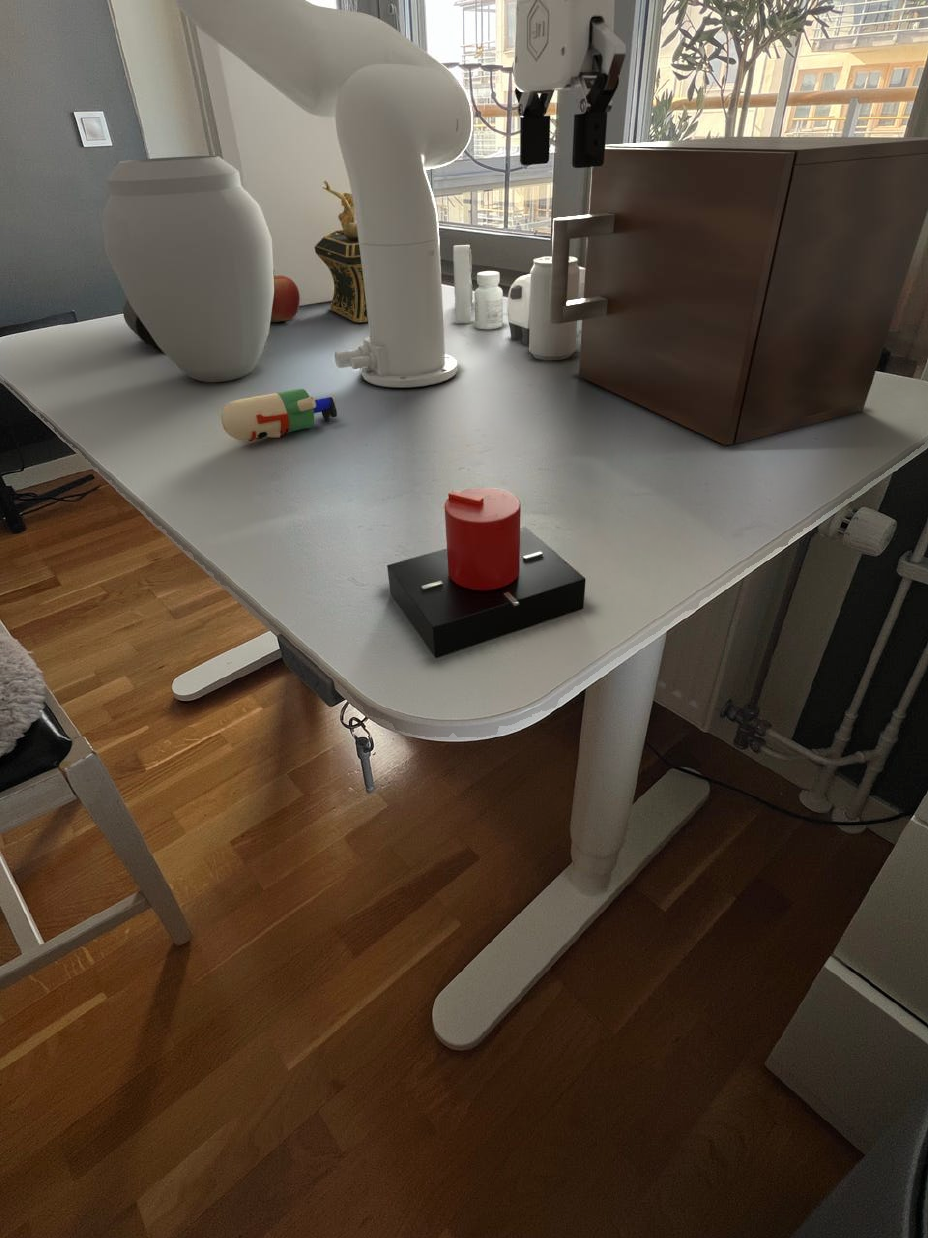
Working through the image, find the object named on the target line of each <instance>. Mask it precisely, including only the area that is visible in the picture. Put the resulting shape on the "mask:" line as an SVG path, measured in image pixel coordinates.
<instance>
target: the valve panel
mask: <svg viewBox="0 0 928 1238" xmlns="http://www.w3.org/2000/svg"><path fill="white" fill-rule="evenodd" d="M386 568H387V576H388V585H389V593H390V596H391V597H392V598H393V600H394V602H395V603H396V604H397V606H398V608H400V610H401V611H402V612H403V614H404V616H405V617H406V618H407V620H408V621H409V623H410V624H411V626H412V627H413V628H414V630H415V631H416V633H417V634H418V636H419V637H420V639H421V640H422V641H423V643H424V645H425V646H426V647H427V648H428V650H429V651H430V652H431V654H432V655H433V657H434V658H435V659H438V658H441V657H443V656H447V655H450V654H453V653H455V652H458V651H462V650H465V649H467V648H471V647H473V646H476V645H479V644H482V643H485V642H488V641H491V640H495V639H497V638H500V637H503V636H507V635H510V634H512V633H515V632H516V633H517V632H519V631H521V630H524V629H527V628H531V627H533V626H536V625H537V626H538V625H539V624H542V623H546V622H549V621H551V620H554V619H558V618H560V617H563V616H566V615H569V614H572V613H575V612H579V611H581V610H583V609H584V607H585V606H584V604H585V594H586V582H587V578H586V577H585V576H583V575H582V574H581V573H580V572H579V571H578V570H577V569H575V568H574V567H573V566H572V565H571V564H569V563H568V562H567V561H566V560H565V559H564V558H563V557H561V556H560V555H559V554H558V553H557V552H555V550H554V549H552V548H551V547H550V546H548V545H547V543H545V542H544V541H543V540H542V539H541V538H539V537H538V536H537V535H535V534H534V533H533V532H532V531H531V530H530V529H529V528H527V527H526V526H523V527H520V572H519V575H518V577H517V578H516V579H515V580H514V581H513V582H512V583H511V584H509V585H507V586H505V587H502V588H499V589H494V590H485V591H480V590H471V589H467V588H464V587H461V586H459V585H458V584H456V583H455V582H453V581H452V579H451V578H450V576H449V573H448V558H447V548H443V549H440V550H436V551H433V552H429V553H426V554H422V555H418V556H415V557H411V558H408V559H403V560H399V561H396V562H393V563H390V564H387V565H386Z"/></svg>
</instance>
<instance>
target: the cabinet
mask: <svg viewBox="0 0 928 1238" xmlns="http://www.w3.org/2000/svg"><path fill="white" fill-rule="evenodd" d="M605 148H644V149H684V150H724V151H764V152H795V155H794V160H793V164H792V169H791V174H790V178H789V183H788V188H787V192H786V197H785V202H784V206H783V211H782V216H781V221H780V225H779V230H778V235H777V239H776V244H775V249H774V253H773V258H772V263H771V268H770V272H769V277H768V282H767V286H766V291H765V296H764V300H763V305H762V310H761V314H760V319H759V324H758V329H757V333H756V338H755V343H754V347H753V352H752V357H751V361H750V366H749V371H748V376H747V380H746V385H745V390H744V394H743V399H742V404H741V408H740V413H739V418H738V422H737V427H736V432H735V437H734V441H733V445H737V444H742V443H745V442H749V441H753V440H757V439H760V438H763V437H768V436H771V435H775V434H780V433H784V432H788V431H791V430H795V429H799V428H802V427H806V426H810V425H814V424H817V423H822V422H825V421H829V420H833V419H836V418H840V417H844V416H848V415H852V414H855V413H859V412H862V411H864V408H865V406H866V402H867V401H868V396H869V394H870V390H871V387H872V384H873V381H874V378H875V374H876V371H877V369H878V366H879V363H880V359H881V357H882V353H883V350H884V347H885V345H886V341H887V338H888V334H889V332H890V329H891V327H892V326H891V325H892V323H893V320H894V316H895V313H896V310H897V308H898V307H897V306H898V304H899V301H900V298H901V295H902V292H903V289H904V286H905V282H906V279H907V276H908V274H909V270H910V267H911V265H912V260H913V257H914V255H915V252H916V248H917V246H918V242H919V239H920V236H921V234H922V230H923V227H924V224H925V221H926V218H927V215H928V136H926V137H922V136H920V137H919V136H918V137H917V136H914V137H912V136H910V137H908V136H875V137H874V136H721V137H708V138H693V139H692V138H691V139H679V140H678V139H677V140H664V141H649V142H636V143H619V144H605Z"/></svg>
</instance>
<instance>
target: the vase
mask: <svg viewBox="0 0 928 1238" xmlns="http://www.w3.org/2000/svg"><path fill="white" fill-rule="evenodd" d="M105 182H106V186H107V188H108V191H109V193H110V196H109V197H108V200H107V202H106V204H105V207H104V209H103V212H102V214H101V225H102V233H103V241H104V242H103V243H104V250H105V254H106V256H107V259H108V260H109V262H110V265H111V268H112V270H113V271H114V273H115V275H116V278H117V280H118V282H119V284H120V286H121V288H122V290H123V292H124V294H125V297H126V299H127V300H128V301H129V303H130V305H131V307H132V308H133V310H134V311H135V313H136V314H137V316H138V317H139V319H140V320H141V322H142V323H143V324H144V326H145V327H146V329H147V330H148V332H149V333H150V335H151V336H152V338H153V339H154V341H155V342H156V344H157V345H158V346H159V348H160V349H161V350H162V351H163V352H162V353H164V354H165V355H166V356H167V358H169V360H170V361H171V362H172V363H173V364H174V365H175V366H176V367H177V368H178V369H180V370H181V371H182V372H183V373H185V374H186V375H187V376H189V377H190V378H191V379H193V380H196V381H199V382H203V383H223V382H224V383H225V382H230V381H234V380H238V379H241V378H243V377H246V376H247V375H249V374H250V373H252V372H253V371H254V370H255V368H256V367H257V364H258V363H259V361H260V359H261V357H262V354H263V351H264V348H265V345H266V342H267V339H268V336H269V333H270V326H271V321H270V320H271V312H272V304H273V297H274V276H273V255H272V238H271V235H270V232H269V230H268V227H267V224H266V222H265V219H264V216H263V214H262V211H261V208H260V206H259V204H258V203H257V202H256V201H255V200H254V199H253V198H252V197H251V196H250V194H249V193H248V192H247V191H246V190H245V189H244V188H243V187H242V186H241V183H240V176H239V171H238V170H237V169H235V168H234V167H232V166H231V165H230V164H228V163H227V162H225V161H224V160H223V157H221V156H219V155H189V156H174V157H173V156H171V157H157V158H156V157H155V158H141V159H129V160H121V161H118V162H117V164H116V165H115V167H114V168H113V169H112V171H111V172H109V175H108V176H106V178H105Z"/></svg>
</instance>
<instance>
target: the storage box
mask: <svg viewBox="0 0 928 1238" xmlns="http://www.w3.org/2000/svg"><path fill="white" fill-rule="evenodd" d="M195 29H196V35H197V38H198V45H199V49H200V53H201V59H202V63H203V68H204V73H205V78H206V82H207V88H208V92H209V97H210V102H211V107H212V112H213V116H214V122H215V127H216V131H217V135H218V140H219V144H220V150H221V156H222V159H223V160H224V161H225V162H227V163H228V164H230V165H231V166H232V167H234V168H235V169H237V170H238V171H239V176H240V183H241V186H242V187H243V188H244V189H245V190H246V191H247V192H248V193H249V194H250V196H251V197H252V198H253V199H254V200H255V201H256V202H257V203H258V204H259V206H260V208H261V211H262V214H263V216H264V219H265V222H266V224H267V227H268V230H269V232H270V235H271V238H272V255H273V269H274V276H279V275H282V276H285V277H288V278H290V279H291V280H292V281H293V282H294V283H295V284H296V286H297V288H298V290H299V294H300V303H299V307H302V306H307V305H314V304H320V303H327V302H332V299H333V295H334V281H333V277H332V274H331V272H330V270H329V268H328V267H327V265H326V264H325V263H324V262H323V261H322V260H321V258H320V257H319V256H318V255H317V254H316V252H315V245H316V244H317V243H318V242H319V241H320V240H321V239H322V238H323V237H324V236H327V235H329V234H331V233H333V232H335V231H340V230H343V228H342V225H341V221H340V220H339V218H338V216H339V214H341V213H343V212H344V206H342V204H341V203H342V202H341V201H342V200H341V199H340V198H338V197H337V196H336V195H334V194H333V193H330V192H329V191H327V190H326V189H324V188H323V187H325V188H326V184H325V183H324V181H326V182H327V183H328V185H329V186H330V189H331V190H333V191H336V192H338V193H340V194H342V195H343V194H344V193H348V194H349V193H350V194H352V192H351V187H350V182H349V178H348V174H347V170H346V166H345V163H344V159H343V156H342V152H341V149H340V145H339V141H338V136H337V131H336V121H335V117H320V116H315V115H312V114H309V113H308V112H306V111H304V110H303V109H301V108H300V107H299V106H297V105H296V104H295V103H294V102H292V101H291V100H290V99H289V98H287V97H286V96H285V95H284V94H282V93H281V92H280V91H279V90H277V89H276V88H275V87H274V86H272V85H271V84H270V83H269V82H267V81H266V80H265V79H263V78H262V77H261V76H260V75H258V74H257V73H256V72H255V71H253V70H252V69H251V68H250V67H249V66H248V65H246V64H245V63H244V62H243V61H242V60H240V59H239V58H238V57H237V56H235V55H234V54H233V53H231V52H230V51H229V50H227V49H226V48H225V47H223V46H222V45H220V44H219V43H218V42H216V41H215V40H214V39H212V38H211V37H210V36H208V35H207V34H206V33H205V32H203V31H202V30H201V29H200V28H199V27H197V26H196V25H195ZM343 196H344V195H343ZM354 211H355V209H354ZM355 223H356V222H355ZM336 234H338V233H336ZM336 234H335V235H336Z"/></svg>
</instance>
